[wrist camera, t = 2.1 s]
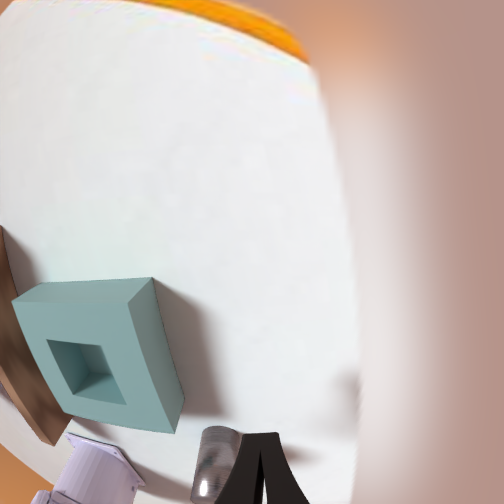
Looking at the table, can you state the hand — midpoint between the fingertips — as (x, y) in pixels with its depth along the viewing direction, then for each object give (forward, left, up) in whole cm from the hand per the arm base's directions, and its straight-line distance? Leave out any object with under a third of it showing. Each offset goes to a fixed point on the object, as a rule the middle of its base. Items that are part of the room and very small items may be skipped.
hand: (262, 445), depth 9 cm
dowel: (-10, +4, -8) cm, 13 cm away
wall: (0, +21, -8) cm, 23 cm away
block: (0, +11, -8) cm, 14 cm away
